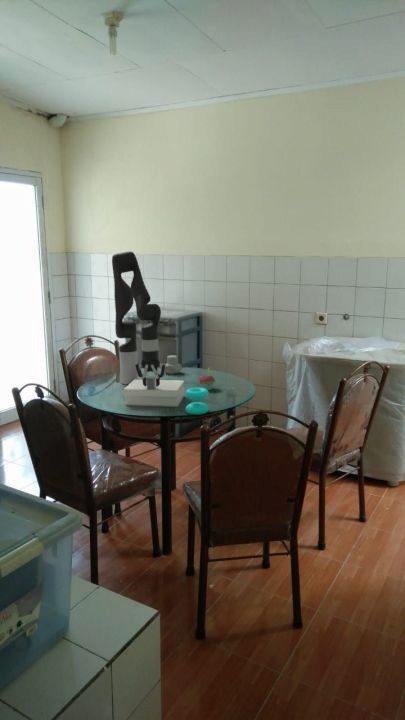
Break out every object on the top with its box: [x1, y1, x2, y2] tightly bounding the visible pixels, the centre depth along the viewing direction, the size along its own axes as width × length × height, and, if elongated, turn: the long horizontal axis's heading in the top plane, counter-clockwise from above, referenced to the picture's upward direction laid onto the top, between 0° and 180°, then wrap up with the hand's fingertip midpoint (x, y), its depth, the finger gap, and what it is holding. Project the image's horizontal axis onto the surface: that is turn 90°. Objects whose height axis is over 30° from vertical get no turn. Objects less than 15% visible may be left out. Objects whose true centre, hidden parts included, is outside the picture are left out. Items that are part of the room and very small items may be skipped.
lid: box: [123, 376, 185, 397], centre depth 237 cm, size 18×24×8 cm
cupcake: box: [197, 367, 216, 391], centre depth 258 cm, size 9×8×12 cm
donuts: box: [184, 387, 210, 416], centre depth 221 cm, size 10×10×10 cm
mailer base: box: [124, 382, 185, 408], centre depth 239 cm, size 17×24×7 cm
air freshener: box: [164, 354, 183, 375], centre depth 293 cm, size 11×8×10 cm
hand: (151, 386), depth 231 cm, fingers open, 5 cm apart
